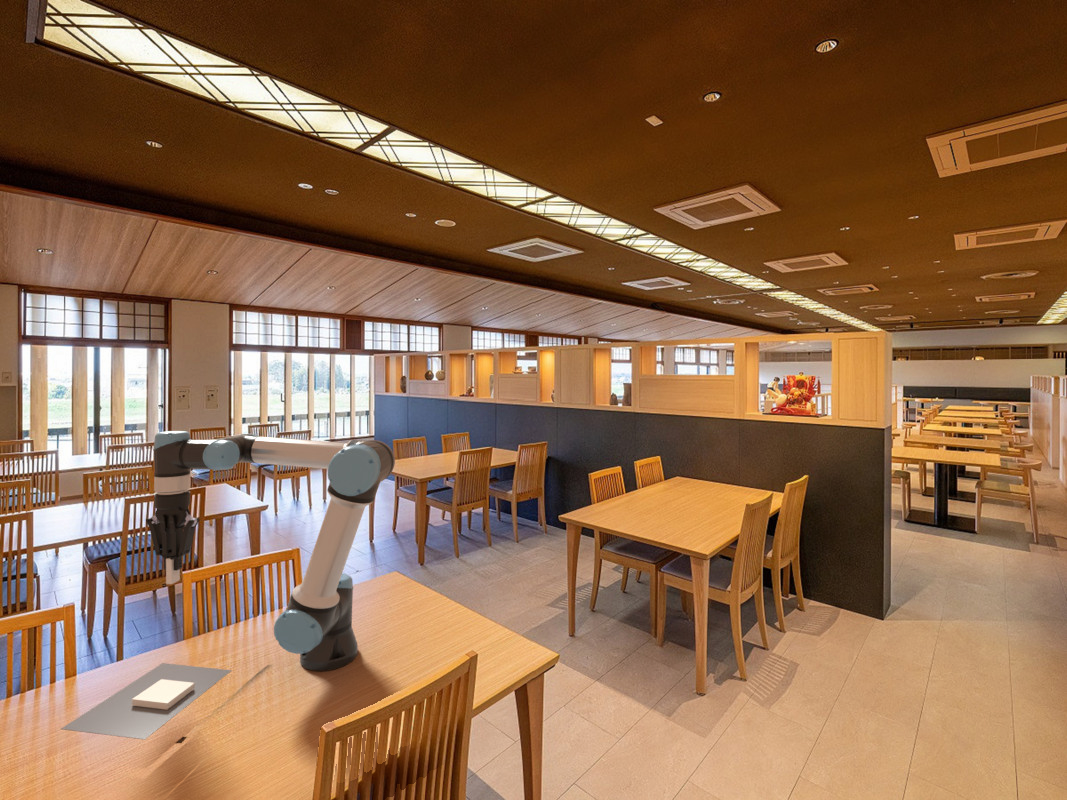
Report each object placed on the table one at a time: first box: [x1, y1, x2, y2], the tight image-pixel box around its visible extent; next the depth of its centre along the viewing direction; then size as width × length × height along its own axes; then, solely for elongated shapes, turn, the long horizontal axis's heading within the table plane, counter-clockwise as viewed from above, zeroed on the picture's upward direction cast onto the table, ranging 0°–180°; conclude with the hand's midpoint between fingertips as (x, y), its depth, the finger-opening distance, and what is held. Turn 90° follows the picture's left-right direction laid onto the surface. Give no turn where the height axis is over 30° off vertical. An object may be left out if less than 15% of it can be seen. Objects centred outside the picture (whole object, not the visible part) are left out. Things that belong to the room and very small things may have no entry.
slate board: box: [60, 662, 233, 740], centre depth 120 cm, size 20×26×1 cm
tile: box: [132, 679, 195, 710], centre depth 120 cm, size 2×8×9 cm
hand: (173, 581), depth 130 cm, fingers closed
